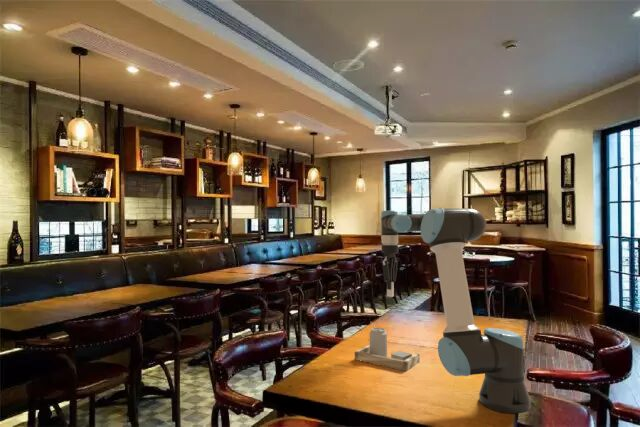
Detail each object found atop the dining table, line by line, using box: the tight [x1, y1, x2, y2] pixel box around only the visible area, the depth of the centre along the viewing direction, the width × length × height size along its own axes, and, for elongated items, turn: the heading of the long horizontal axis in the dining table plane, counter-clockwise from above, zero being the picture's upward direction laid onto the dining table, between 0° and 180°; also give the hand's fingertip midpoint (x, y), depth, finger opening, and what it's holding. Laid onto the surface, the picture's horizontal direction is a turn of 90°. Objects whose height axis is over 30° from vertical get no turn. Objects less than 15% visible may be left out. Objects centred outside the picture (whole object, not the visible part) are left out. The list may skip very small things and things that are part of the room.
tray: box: [354, 344, 420, 372], centre depth 178 cm, size 13×24×4 cm, turn 54°
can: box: [369, 327, 388, 357], centre depth 184 cm, size 8×8×12 cm
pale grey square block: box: [390, 350, 413, 360], centre depth 176 cm, size 6×6×4 cm
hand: (390, 296), depth 193 cm, fingers closed
